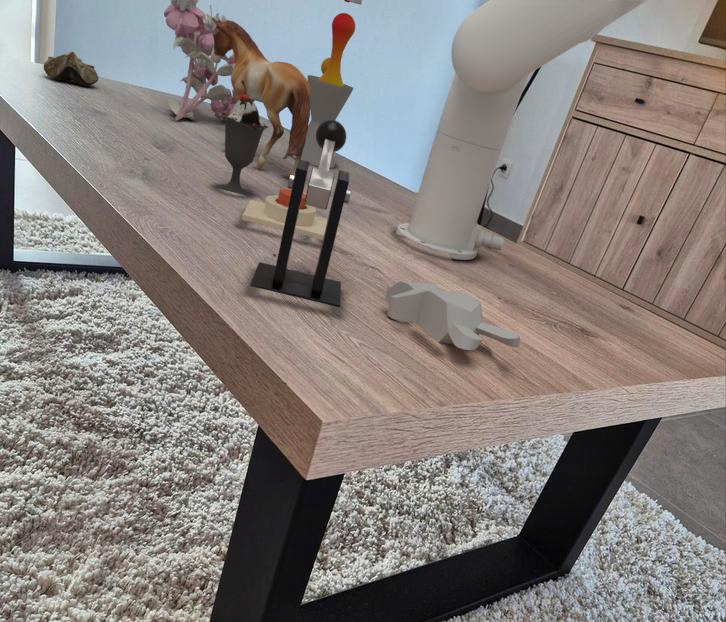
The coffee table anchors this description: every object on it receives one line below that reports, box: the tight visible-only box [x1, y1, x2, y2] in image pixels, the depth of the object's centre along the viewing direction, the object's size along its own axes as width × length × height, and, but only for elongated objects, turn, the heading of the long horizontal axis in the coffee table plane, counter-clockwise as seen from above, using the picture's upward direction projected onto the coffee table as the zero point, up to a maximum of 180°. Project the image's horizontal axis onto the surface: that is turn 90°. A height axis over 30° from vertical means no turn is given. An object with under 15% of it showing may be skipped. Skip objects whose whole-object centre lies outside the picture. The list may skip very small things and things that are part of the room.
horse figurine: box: [210, 17, 311, 178], centre depth 116 cm, size 31×8×21 cm, turn 39°
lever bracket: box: [250, 160, 352, 308], centre depth 68 cm, size 7×9×13 cm
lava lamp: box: [291, 0, 363, 169], centre depth 128 cm, size 9×9×35 cm
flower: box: [163, 0, 237, 122], centre depth 139 cm, size 20×22×25 cm
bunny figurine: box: [384, 281, 521, 351], centre depth 68 cm, size 10×5×15 cm
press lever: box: [304, 120, 347, 211], centre depth 68 cm, size 12×3×3 cm, turn 0°
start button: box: [277, 188, 306, 210], centre depth 88 cm, size 4×4×2 cm
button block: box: [241, 194, 328, 241], centre depth 89 cm, size 11×8×4 cm
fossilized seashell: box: [43, 50, 100, 87], centre depth 141 cm, size 8×7×10 cm
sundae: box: [215, 80, 270, 197], centre depth 96 cm, size 7×7×15 cm
